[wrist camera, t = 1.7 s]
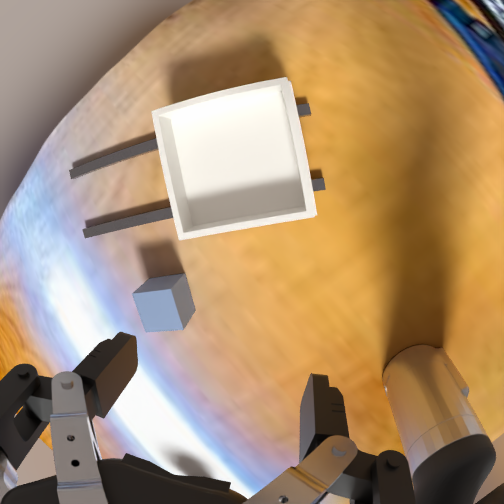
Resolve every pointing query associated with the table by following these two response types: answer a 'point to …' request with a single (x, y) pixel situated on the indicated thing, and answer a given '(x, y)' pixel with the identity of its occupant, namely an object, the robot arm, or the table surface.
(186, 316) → the block
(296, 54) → the table surface
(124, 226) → the rails
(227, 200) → the white square tray
